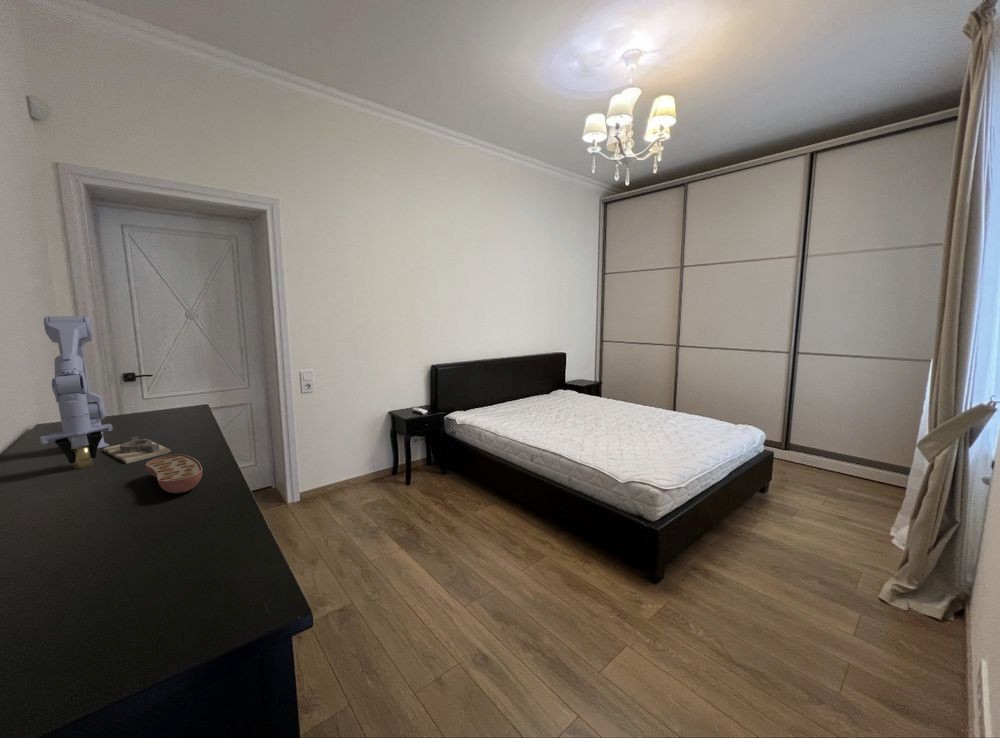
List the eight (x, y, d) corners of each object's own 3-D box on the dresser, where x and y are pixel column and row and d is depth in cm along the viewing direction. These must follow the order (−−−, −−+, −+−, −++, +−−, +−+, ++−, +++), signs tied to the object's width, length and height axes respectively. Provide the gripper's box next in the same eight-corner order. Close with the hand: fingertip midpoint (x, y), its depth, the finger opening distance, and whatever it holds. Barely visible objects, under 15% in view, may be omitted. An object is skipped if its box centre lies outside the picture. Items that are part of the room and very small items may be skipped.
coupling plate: (103, 451, 131) (102, 442, 130) (146, 441, 140) (145, 433, 140) (126, 463, 121) (125, 454, 120) (170, 452, 130) (169, 443, 130)
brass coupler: (72, 467, 118) (68, 447, 117) (90, 462, 121) (87, 444, 120) (76, 470, 116) (72, 450, 115) (95, 465, 119) (91, 446, 118)
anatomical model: (144, 477, 111) (142, 460, 111) (188, 467, 119) (186, 451, 118) (164, 503, 97) (161, 484, 96) (212, 489, 104) (210, 471, 104)
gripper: (41, 424, 108) (50, 471, 110) (113, 412, 120) (119, 454, 122) (34, 420, 111) (43, 466, 114) (105, 408, 124) (111, 450, 126)
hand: (82, 460), depth 118 cm, fingers closed on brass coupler, 4 cm apart
